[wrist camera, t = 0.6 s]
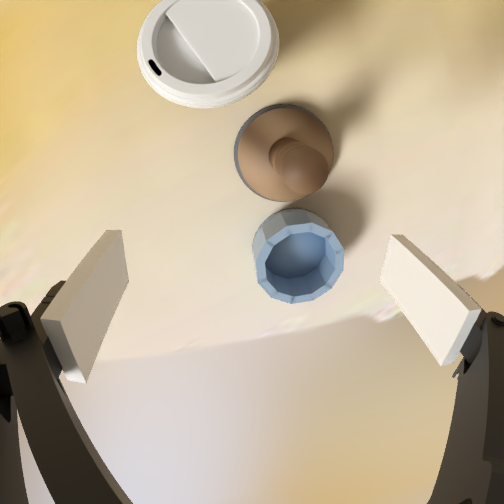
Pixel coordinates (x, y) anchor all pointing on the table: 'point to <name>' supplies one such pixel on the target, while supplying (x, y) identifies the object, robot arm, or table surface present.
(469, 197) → the table surface
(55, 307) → the robot arm
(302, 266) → the bowl
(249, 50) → the coffee cup
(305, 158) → the lid
